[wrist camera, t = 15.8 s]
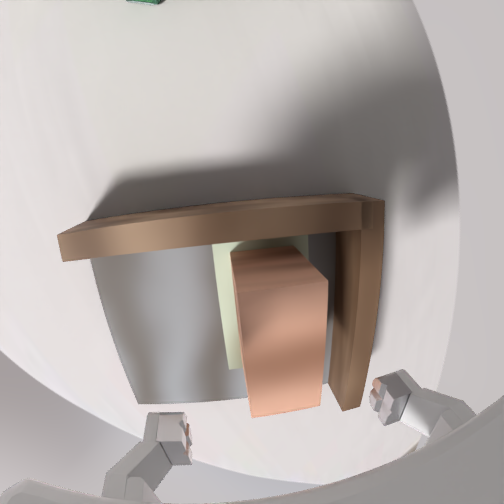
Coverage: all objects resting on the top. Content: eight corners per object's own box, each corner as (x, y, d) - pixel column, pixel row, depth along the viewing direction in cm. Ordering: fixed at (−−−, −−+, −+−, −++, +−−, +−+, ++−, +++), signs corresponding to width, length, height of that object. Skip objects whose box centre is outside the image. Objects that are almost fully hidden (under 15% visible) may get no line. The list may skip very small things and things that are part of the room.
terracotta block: (229, 252, 18) (237, 292, 12) (293, 245, 18) (328, 280, 12) (241, 357, 20) (251, 417, 14) (295, 349, 20) (320, 405, 15)
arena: (139, 400, 21) (131, 434, 17) (85, 221, 17) (57, 235, 13) (342, 376, 23) (359, 406, 19) (352, 193, 18) (384, 200, 14)
